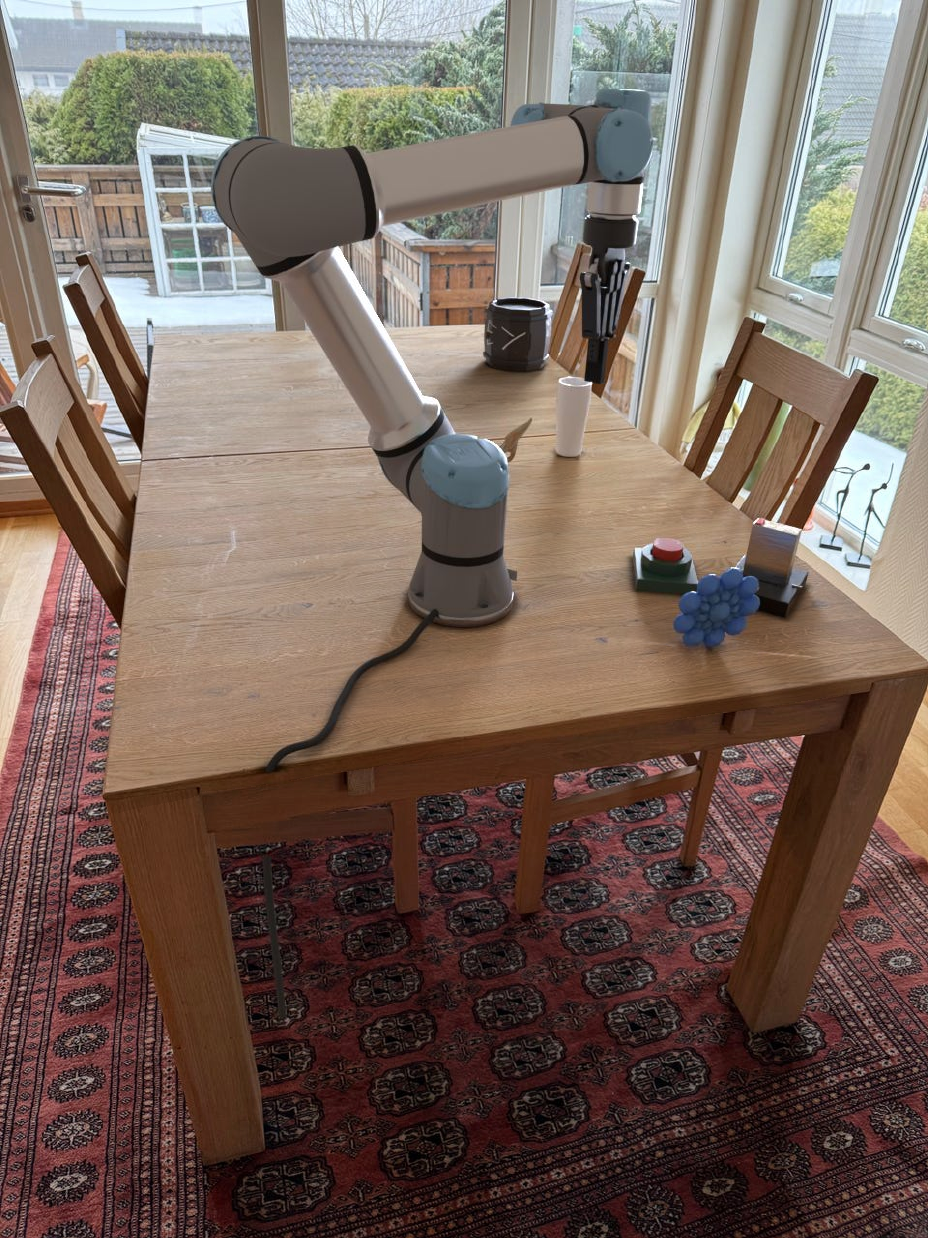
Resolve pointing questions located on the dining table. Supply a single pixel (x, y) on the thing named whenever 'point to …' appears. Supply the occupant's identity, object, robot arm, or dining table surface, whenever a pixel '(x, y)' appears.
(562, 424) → the drinking glass
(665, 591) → the button housing
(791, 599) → the black stand base
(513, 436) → the oil lamp
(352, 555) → the dining table surface
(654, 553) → the button
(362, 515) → the dining table surface
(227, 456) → the dining table surface
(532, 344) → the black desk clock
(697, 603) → the blue flower
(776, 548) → the silver rectangular block
